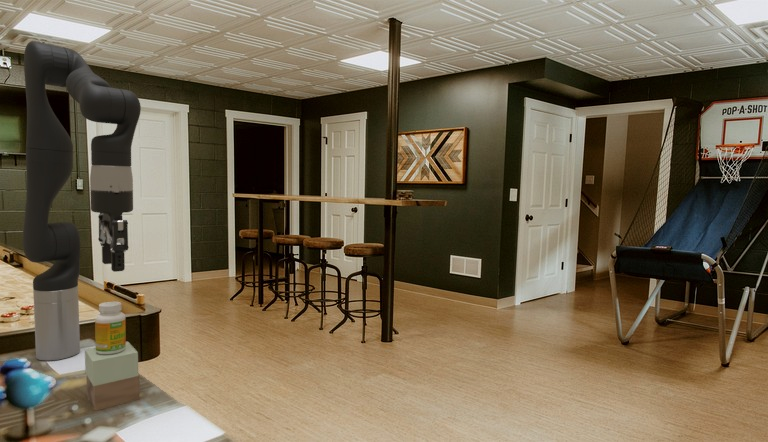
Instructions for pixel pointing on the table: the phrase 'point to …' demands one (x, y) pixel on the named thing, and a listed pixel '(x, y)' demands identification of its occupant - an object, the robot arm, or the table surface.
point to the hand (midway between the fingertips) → (113, 267)
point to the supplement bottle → (110, 329)
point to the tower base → (113, 392)
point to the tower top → (111, 365)
